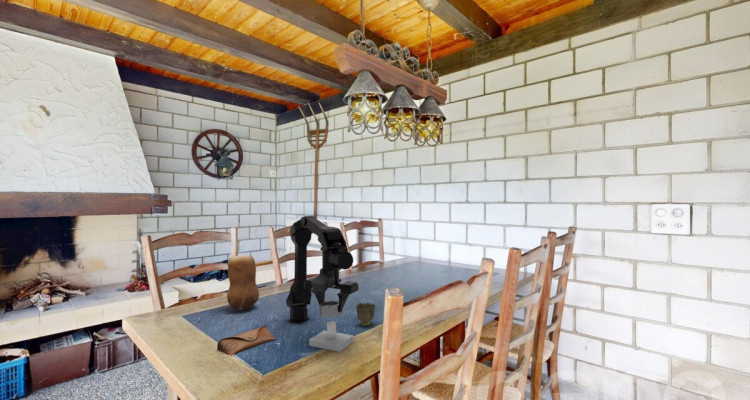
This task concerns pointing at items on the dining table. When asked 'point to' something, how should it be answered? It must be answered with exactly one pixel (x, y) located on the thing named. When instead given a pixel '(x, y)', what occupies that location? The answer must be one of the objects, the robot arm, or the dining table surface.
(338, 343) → the shaft block
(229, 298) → the butternut squash
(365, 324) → the cup
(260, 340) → the sunglasses case
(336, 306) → the hub ring
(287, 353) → the dining table surface
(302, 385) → the dining table surface
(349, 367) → the dining table surface
